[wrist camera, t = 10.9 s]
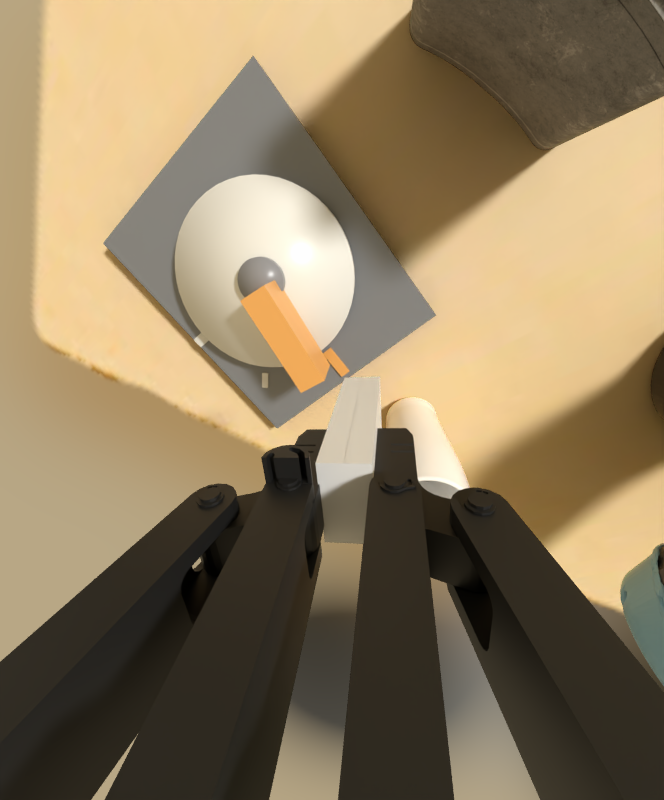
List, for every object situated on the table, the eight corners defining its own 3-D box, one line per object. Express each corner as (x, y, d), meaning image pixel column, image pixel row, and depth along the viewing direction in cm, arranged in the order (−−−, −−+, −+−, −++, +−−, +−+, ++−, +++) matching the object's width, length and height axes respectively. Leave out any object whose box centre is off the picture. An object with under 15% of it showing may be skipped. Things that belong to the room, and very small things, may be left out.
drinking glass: (390, 380, 38) (396, 465, 24) (453, 398, 38) (494, 493, 24) (371, 435, 41) (366, 536, 27) (429, 451, 41) (454, 561, 27)
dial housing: (433, 311, 34) (436, 315, 33) (280, 421, 41) (276, 429, 40) (259, 64, 28) (252, 54, 27) (113, 242, 35) (101, 243, 34)
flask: (435, -30, 25) (535, -501, 9) (587, 108, 27) (895, -70, 11) (401, 32, 27) (435, -276, 10) (548, 158, 29) (768, 66, 12)
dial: (146, 245, 33) (107, 248, 29) (290, 130, 28) (273, 111, 24) (257, 400, 39) (240, 424, 34) (394, 327, 34) (397, 342, 29)
